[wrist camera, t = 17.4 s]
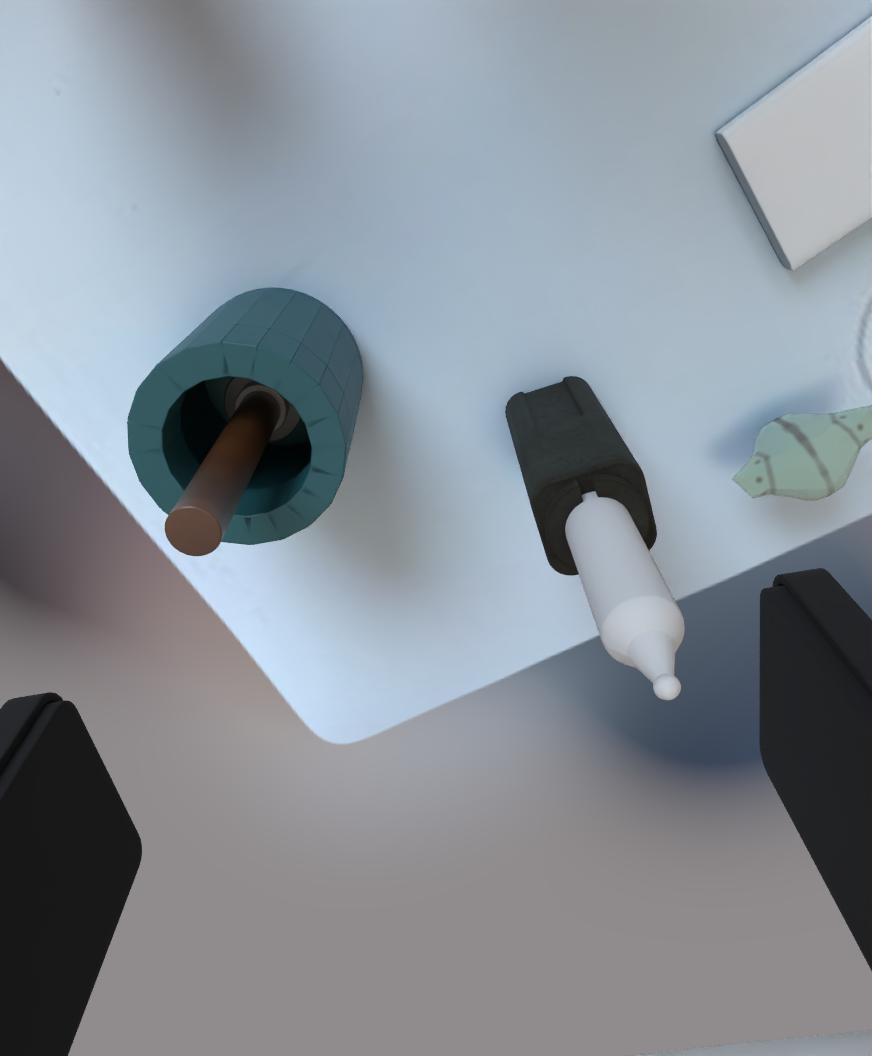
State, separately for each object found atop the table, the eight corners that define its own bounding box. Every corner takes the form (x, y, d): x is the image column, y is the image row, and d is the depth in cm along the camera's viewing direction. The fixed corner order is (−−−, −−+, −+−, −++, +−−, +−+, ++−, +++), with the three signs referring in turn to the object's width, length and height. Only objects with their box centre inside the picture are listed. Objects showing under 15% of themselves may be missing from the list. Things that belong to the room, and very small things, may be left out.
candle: (524, 474, 49) (609, 773, 26) (500, 398, 46) (571, 654, 24) (605, 449, 48) (763, 734, 26) (585, 370, 46) (739, 608, 24)
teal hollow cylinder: (174, 305, 44) (94, 364, 33) (341, 272, 43) (315, 322, 32) (225, 461, 48) (169, 559, 37) (378, 434, 47) (366, 525, 37)
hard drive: (711, 132, 40) (951, -46, 37) (782, 267, 43) (1009, 114, 40) (722, 133, 39) (972, -53, 36) (794, 273, 42) (1031, 114, 39)
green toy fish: (828, 369, 46) (890, 406, 40) (851, 426, 48) (914, 470, 42) (700, 438, 48) (740, 484, 42) (726, 491, 49) (769, 543, 43)
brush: (233, 349, 44) (118, 490, 27) (304, 335, 44) (231, 470, 27) (254, 416, 46) (157, 589, 29) (321, 404, 46) (263, 571, 29)
